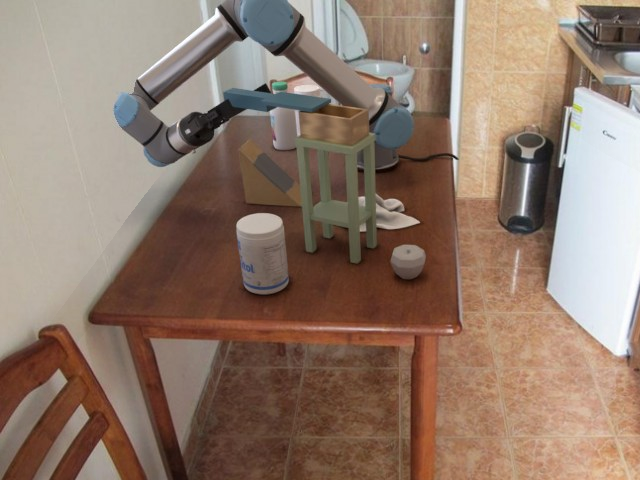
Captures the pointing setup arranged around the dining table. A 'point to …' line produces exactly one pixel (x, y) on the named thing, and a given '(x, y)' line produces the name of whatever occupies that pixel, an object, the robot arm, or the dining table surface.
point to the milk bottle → (283, 122)
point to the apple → (408, 261)
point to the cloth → (389, 214)
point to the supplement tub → (262, 253)
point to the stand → (335, 210)
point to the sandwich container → (266, 179)
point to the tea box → (335, 124)
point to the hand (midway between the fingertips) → (250, 96)
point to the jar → (309, 91)
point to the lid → (273, 100)
